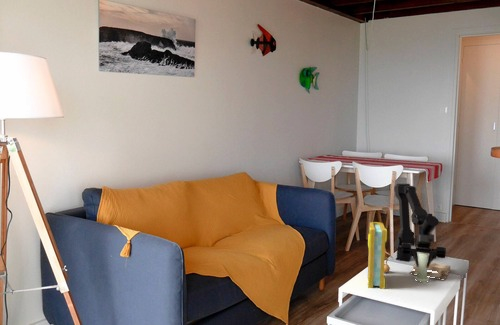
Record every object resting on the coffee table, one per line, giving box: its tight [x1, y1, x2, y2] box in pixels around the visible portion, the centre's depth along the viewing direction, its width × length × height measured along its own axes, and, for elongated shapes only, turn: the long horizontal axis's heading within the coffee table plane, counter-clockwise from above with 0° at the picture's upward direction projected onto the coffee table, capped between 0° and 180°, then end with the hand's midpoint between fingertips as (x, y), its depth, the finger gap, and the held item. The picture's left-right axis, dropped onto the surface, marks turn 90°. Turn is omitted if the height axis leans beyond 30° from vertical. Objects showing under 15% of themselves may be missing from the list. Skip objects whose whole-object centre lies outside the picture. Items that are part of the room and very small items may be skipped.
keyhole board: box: [409, 262, 451, 280], centre depth 221 cm, size 15×18×2 cm
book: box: [367, 221, 388, 290], centre depth 205 cm, size 17×7×25 cm, turn 168°
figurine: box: [384, 248, 394, 274], centre depth 218 cm, size 8×6×12 cm
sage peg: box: [414, 252, 430, 283], centre depth 208 cm, size 6×6×12 cm
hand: (422, 266), depth 207 cm, fingers closed on sage peg, 4 cm apart
